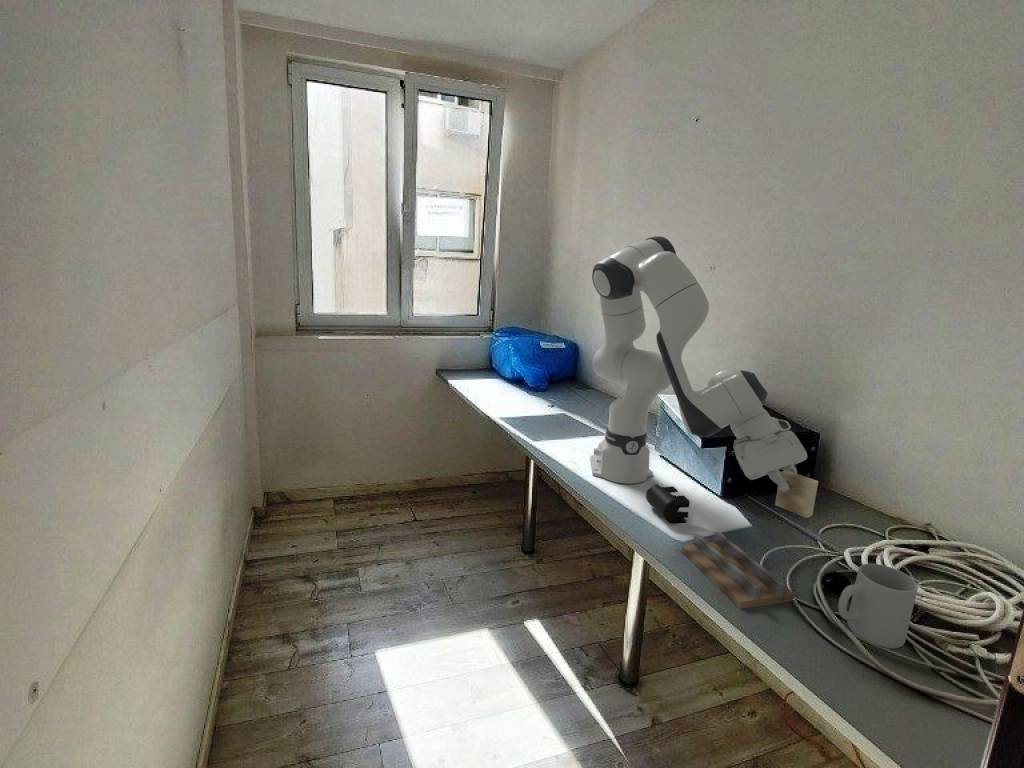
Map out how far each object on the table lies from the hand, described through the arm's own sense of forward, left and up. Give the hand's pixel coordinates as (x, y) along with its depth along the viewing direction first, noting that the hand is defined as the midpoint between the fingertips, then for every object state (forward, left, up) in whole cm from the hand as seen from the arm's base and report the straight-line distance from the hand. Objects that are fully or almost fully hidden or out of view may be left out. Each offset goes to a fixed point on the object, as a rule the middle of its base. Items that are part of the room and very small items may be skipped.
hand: (792, 488), depth 112 cm
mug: (+26, -1, -16) cm, 31 cm away
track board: (+8, -16, -15) cm, 24 cm away
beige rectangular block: (+1, 0, -5) cm, 5 cm away
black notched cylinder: (-18, -20, -16) cm, 31 cm away
